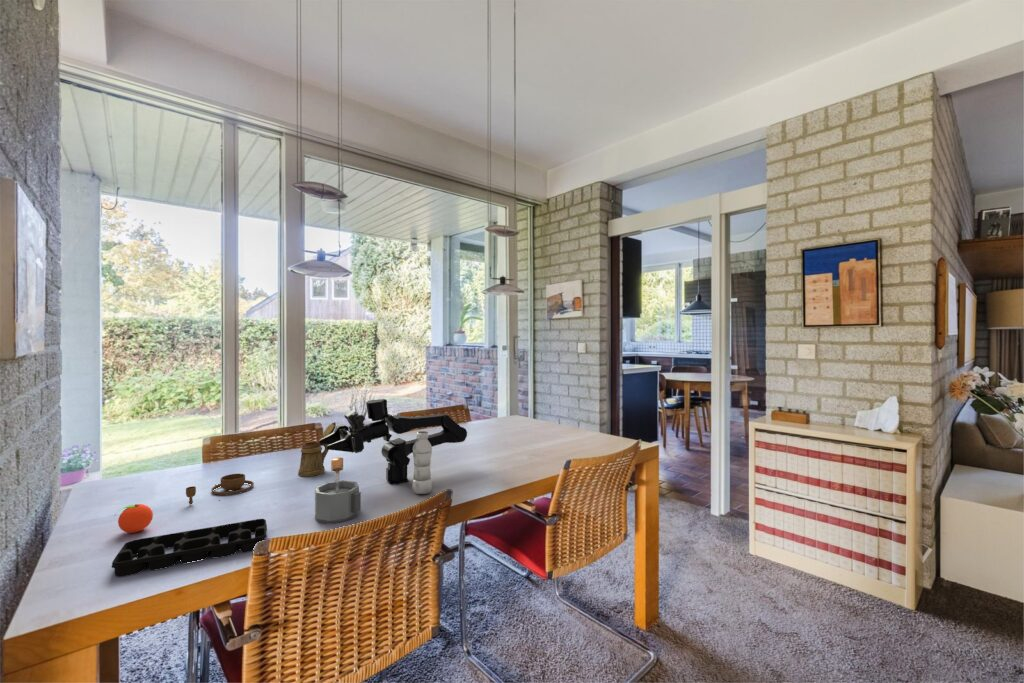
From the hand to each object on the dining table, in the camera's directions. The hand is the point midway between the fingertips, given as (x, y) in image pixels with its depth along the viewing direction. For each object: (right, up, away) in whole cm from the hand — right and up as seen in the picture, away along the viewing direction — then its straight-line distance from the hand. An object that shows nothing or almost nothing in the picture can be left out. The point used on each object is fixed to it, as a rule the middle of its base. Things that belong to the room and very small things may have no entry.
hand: (322, 444), depth 141 cm
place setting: (-35, -17, +2) cm, 39 cm away
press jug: (+10, -17, -15) cm, 25 cm away
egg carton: (-14, -17, -37) cm, 43 cm away
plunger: (+10, -11, -15) cm, 21 cm away
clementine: (-38, -17, -27) cm, 49 cm away
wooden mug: (-13, -16, +25) cm, 32 cm away
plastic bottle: (+31, -17, +3) cm, 36 cm away
